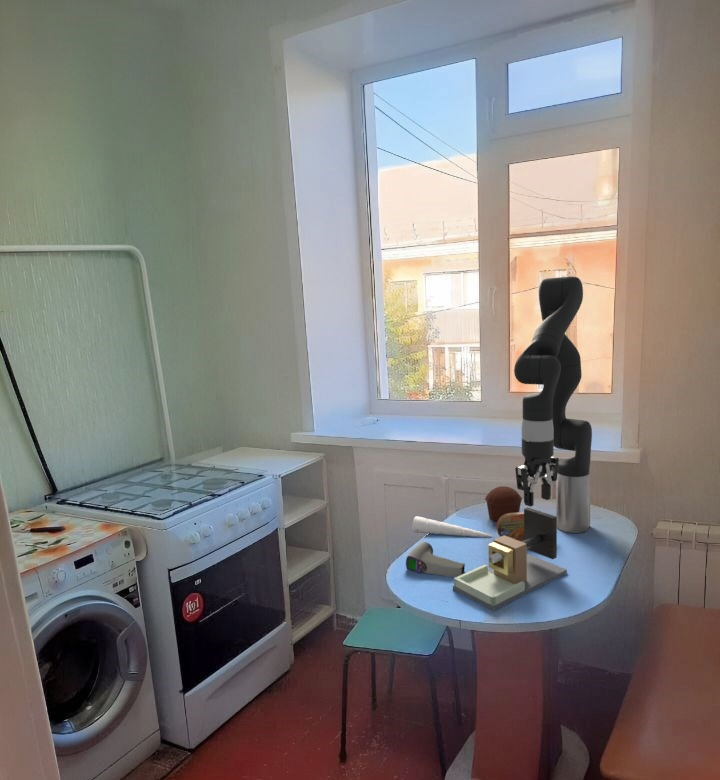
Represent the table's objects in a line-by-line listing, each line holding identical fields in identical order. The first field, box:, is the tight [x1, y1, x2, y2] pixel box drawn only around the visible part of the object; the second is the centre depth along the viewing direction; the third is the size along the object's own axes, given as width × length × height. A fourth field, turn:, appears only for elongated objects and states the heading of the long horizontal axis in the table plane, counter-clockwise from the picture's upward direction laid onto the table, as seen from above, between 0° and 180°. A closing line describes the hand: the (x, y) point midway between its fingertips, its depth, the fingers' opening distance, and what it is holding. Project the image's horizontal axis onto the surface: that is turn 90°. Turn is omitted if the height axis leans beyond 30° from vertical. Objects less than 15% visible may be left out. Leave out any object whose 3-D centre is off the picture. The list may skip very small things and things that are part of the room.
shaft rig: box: [452, 535, 567, 612], centre depth 150 cm, size 28×13×11 cm, turn 126°
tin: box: [496, 511, 524, 542], centre depth 174 cm, size 15×3×8 cm, turn 92°
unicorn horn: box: [412, 515, 493, 538], centre depth 180 cm, size 5×24×5 cm, turn 68°
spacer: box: [488, 541, 513, 576], centre depth 147 cm, size 2×6×6 cm, turn 36°
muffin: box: [484, 485, 523, 523], centre depth 190 cm, size 12×11×10 cm
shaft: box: [488, 507, 558, 563], centre depth 151 cm, size 19×9×11 cm, turn 126°
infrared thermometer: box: [405, 541, 466, 578], centre depth 161 cm, size 5×12×15 cm
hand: (537, 502), depth 149 cm, fingers open, 6 cm apart
